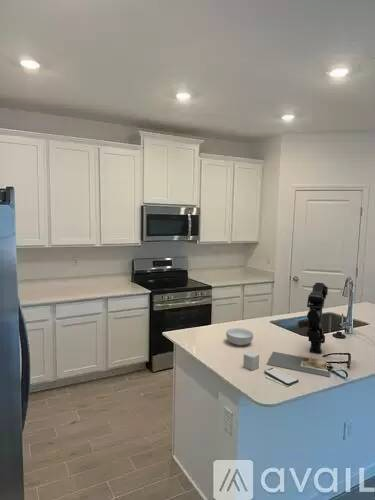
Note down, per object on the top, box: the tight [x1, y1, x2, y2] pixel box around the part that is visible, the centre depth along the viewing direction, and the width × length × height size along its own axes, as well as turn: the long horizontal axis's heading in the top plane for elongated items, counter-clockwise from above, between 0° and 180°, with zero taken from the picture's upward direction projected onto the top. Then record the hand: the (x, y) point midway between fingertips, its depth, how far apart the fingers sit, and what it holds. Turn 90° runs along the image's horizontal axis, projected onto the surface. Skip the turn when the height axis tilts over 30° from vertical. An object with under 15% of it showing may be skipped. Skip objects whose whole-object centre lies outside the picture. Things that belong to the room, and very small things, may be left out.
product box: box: [242, 351, 260, 371], centre depth 182 cm, size 6×6×7 cm
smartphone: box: [264, 366, 299, 387], centre depth 172 cm, size 9×2×16 cm
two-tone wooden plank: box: [303, 356, 327, 370], centre depth 185 cm, size 12×5×3 cm, turn 66°
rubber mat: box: [266, 351, 332, 378], centre depth 188 cm, size 19×32×1 cm, turn 66°
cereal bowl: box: [225, 327, 254, 346], centre depth 216 cm, size 17×17×7 cm
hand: (313, 343), depth 189 cm, fingers open, 9 cm apart
